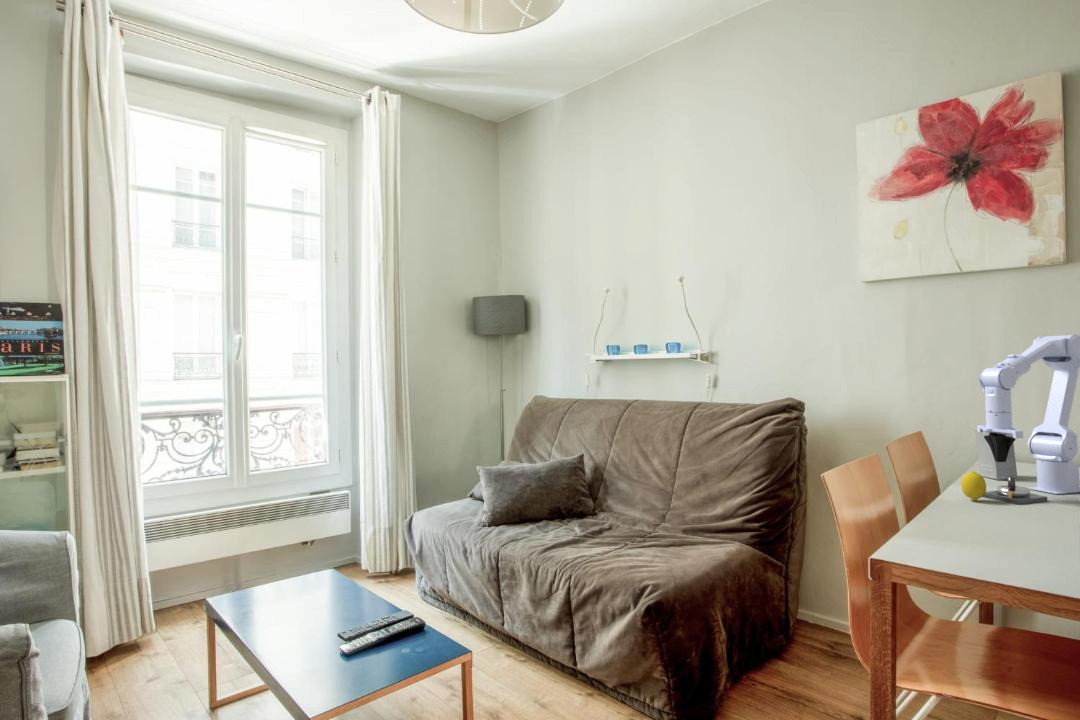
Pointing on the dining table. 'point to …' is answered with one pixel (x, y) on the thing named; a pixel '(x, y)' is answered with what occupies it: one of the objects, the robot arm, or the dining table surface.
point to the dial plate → (1015, 498)
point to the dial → (1013, 489)
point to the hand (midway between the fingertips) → (1000, 461)
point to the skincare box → (989, 465)
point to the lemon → (973, 485)
